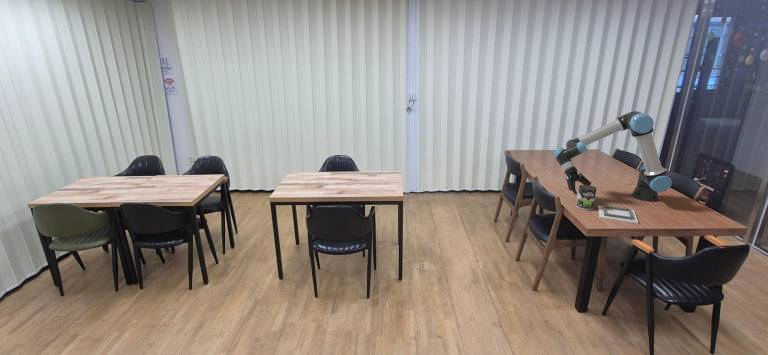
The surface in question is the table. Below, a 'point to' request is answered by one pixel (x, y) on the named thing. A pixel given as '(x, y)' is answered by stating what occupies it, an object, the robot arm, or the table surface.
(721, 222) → the table surface
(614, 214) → the base board
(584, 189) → the coffee can
